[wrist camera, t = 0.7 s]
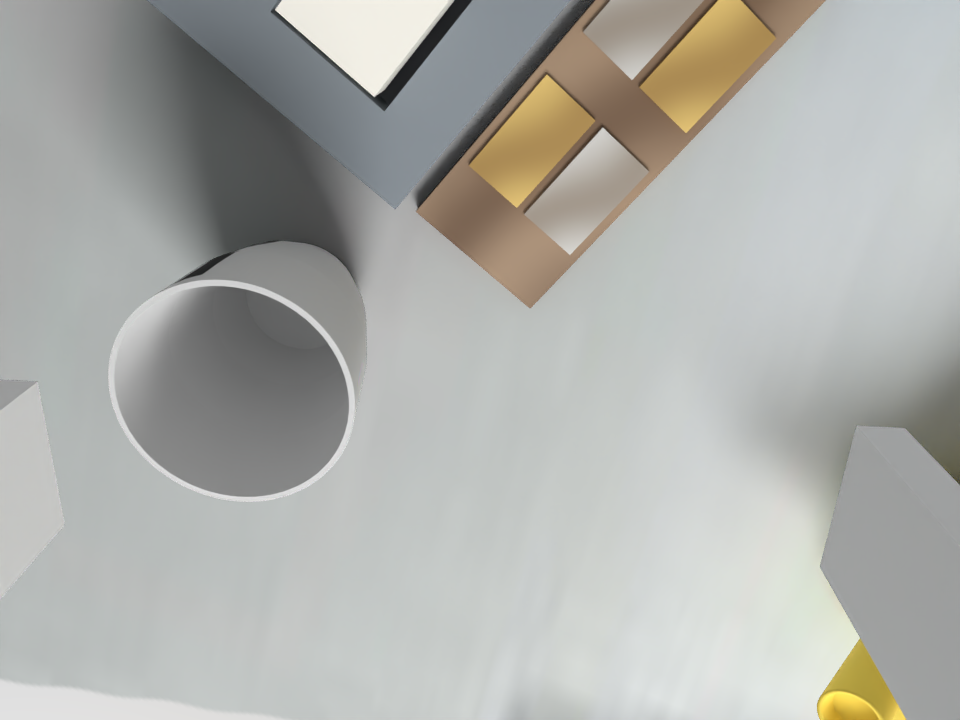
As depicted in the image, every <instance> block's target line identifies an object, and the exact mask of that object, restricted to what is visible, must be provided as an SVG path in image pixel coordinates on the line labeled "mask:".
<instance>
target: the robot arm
mask: <svg viewBox="0 0 960 720" xmlns="http://www.w3.org/2000/svg"><path fill="white" fill-rule="evenodd" d="M64 525H65V521H64V516H63V511H62V506H61V501H60V495H59V490H58V485H57V480H56V474H55V469H54V464H53V459H52V454H51V448H50V443H49V438H48V433H47V428H46V422H45V417H44V412H43V407H42V401H41V396H40V391H39V386H38V381H20V380H1V379H0V599H1V598H2V597H3V596H4V595H5V594H6V592H7V591H8V590H9V589H10V588H11V587H12V586H13V584H14V583H15V582H16V581H17V580H18V579H19V577H20V576H21V575H22V574H23V573H24V572H25V570H26V569H27V568H28V567H29V566H30V565H31V564H32V562H33V561H34V560H35V559H36V558H37V557H38V555H39V554H40V553H41V552H42V551H43V550H44V549H45V547H46V546H47V545H48V544H49V543H50V542H51V540H52V539H53V538H54V537H55V536H56V535H57V534H58V532H59V531H60V530H61V529H62V528H63V527H64ZM820 568H821V570H822V571H823V573H824V575H825V577H826V579H827V580H828V582H829V584H830V586H831V587H832V589H833V591H834V593H835V594H836V596H837V598H838V600H839V602H840V603H841V605H842V607H843V609H844V610H845V612H846V614H847V616H848V617H849V619H850V621H851V623H852V624H853V626H854V628H855V630H856V632H857V633H858V635H859V637H860V639H861V640H862V642H863V644H864V646H865V647H866V649H867V651H868V653H869V654H870V656H871V658H872V660H873V662H874V663H875V665H876V667H877V669H878V670H879V672H880V674H881V676H882V677H883V679H884V681H885V683H886V684H887V686H888V688H889V690H890V692H891V693H892V695H893V697H894V699H895V700H896V702H897V704H898V706H899V707H900V709H901V711H902V713H903V714H904V716H905V718H906V720H960V485H959V484H958V483H957V482H956V481H955V480H954V479H953V478H952V476H951V475H950V474H949V473H948V472H947V471H946V470H945V469H944V468H943V467H942V466H941V465H940V464H939V463H938V462H937V461H936V460H935V459H934V458H933V457H932V456H931V455H930V454H929V453H928V452H927V451H926V449H925V448H924V447H923V446H922V445H921V444H920V443H919V442H918V441H917V440H916V439H915V438H914V437H913V436H912V435H911V434H910V433H909V432H908V431H907V430H906V429H905V428H896V427H877V426H858V425H856V429H855V433H854V437H853V441H852V445H851V448H850V452H849V456H848V460H847V464H846V468H845V472H844V475H843V479H842V483H841V487H840V491H839V495H838V498H837V502H836V506H835V510H834V514H833V518H832V522H831V525H830V529H829V533H828V537H827V541H826V545H825V548H824V552H823V556H822V560H821V564H820Z"/></svg>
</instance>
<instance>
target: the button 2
mask: <svg viewBox="0 0 960 720" xmlns="http://www.w3.org/2000/svg"><path fill="white" fill-rule="evenodd" d="M454 1H455V0H282V1H281V2H280V4H279V5H278V6H277V8H276V9H275V10H276V11H277V12H278V13H279V14H280V15H281V16H283V17H284V18H285V19H286V20H287V21H288V22H289V23H291V24H292V25H293V26H294V27H295V28H296V29H297V30H298V31H300V32H301V33H302V34H303V35H304V36H305V37H306V38H308V39H309V40H310V41H311V42H312V43H313V44H314V45H316V46H317V47H318V48H319V49H320V50H321V51H322V52H324V53H325V54H326V55H327V56H328V57H329V58H330V59H331V60H333V61H334V62H335V63H336V64H337V65H338V66H339V67H341V68H342V69H343V70H344V71H345V72H346V73H347V74H349V75H350V76H351V77H352V78H353V79H354V80H355V81H357V82H358V83H359V84H360V85H361V86H362V87H363V88H365V89H366V90H367V91H368V92H369V93H370V94H371V95H372V96H374V97H375V96H376V95H378V94H379V93H381V92H382V91H384V90H385V89H386V88H387V86H388V85H389V84H390V82H391V81H392V80H393V79H394V77H395V76H396V75H397V73H398V72H399V71H400V70H401V68H402V67H403V66H404V65H405V63H406V62H407V61H408V59H409V58H410V57H411V56H412V54H413V53H414V52H415V50H416V49H417V48H418V47H419V45H420V44H421V43H422V42H423V40H424V39H425V38H426V36H427V35H428V34H429V33H430V31H431V30H432V29H433V27H434V26H435V25H436V24H437V22H438V21H439V20H440V18H441V17H442V16H443V15H444V13H445V12H446V11H447V10H448V8H449V7H450V6H451V4H452V3H453V2H454Z"/></svg>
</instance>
